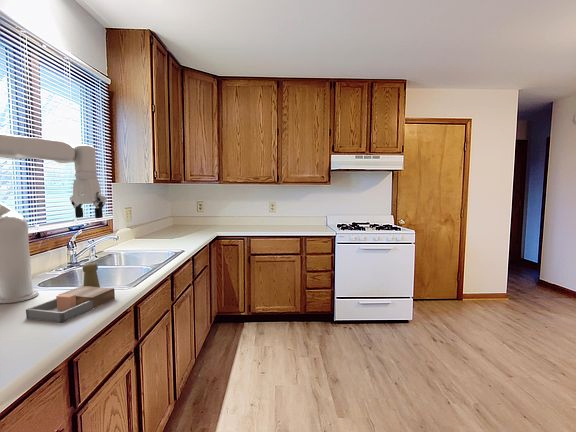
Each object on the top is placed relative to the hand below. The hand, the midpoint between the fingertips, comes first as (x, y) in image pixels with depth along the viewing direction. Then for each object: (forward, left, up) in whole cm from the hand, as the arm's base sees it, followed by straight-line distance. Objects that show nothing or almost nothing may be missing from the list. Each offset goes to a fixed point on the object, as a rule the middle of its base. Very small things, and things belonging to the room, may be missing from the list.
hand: (89, 217), depth 137 cm
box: (+15, -29, -28) cm, 43 cm away
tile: (+15, -26, -25) cm, 39 cm away
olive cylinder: (+6, -7, -28) cm, 30 cm away
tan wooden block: (+15, -18, -28) cm, 37 cm away
